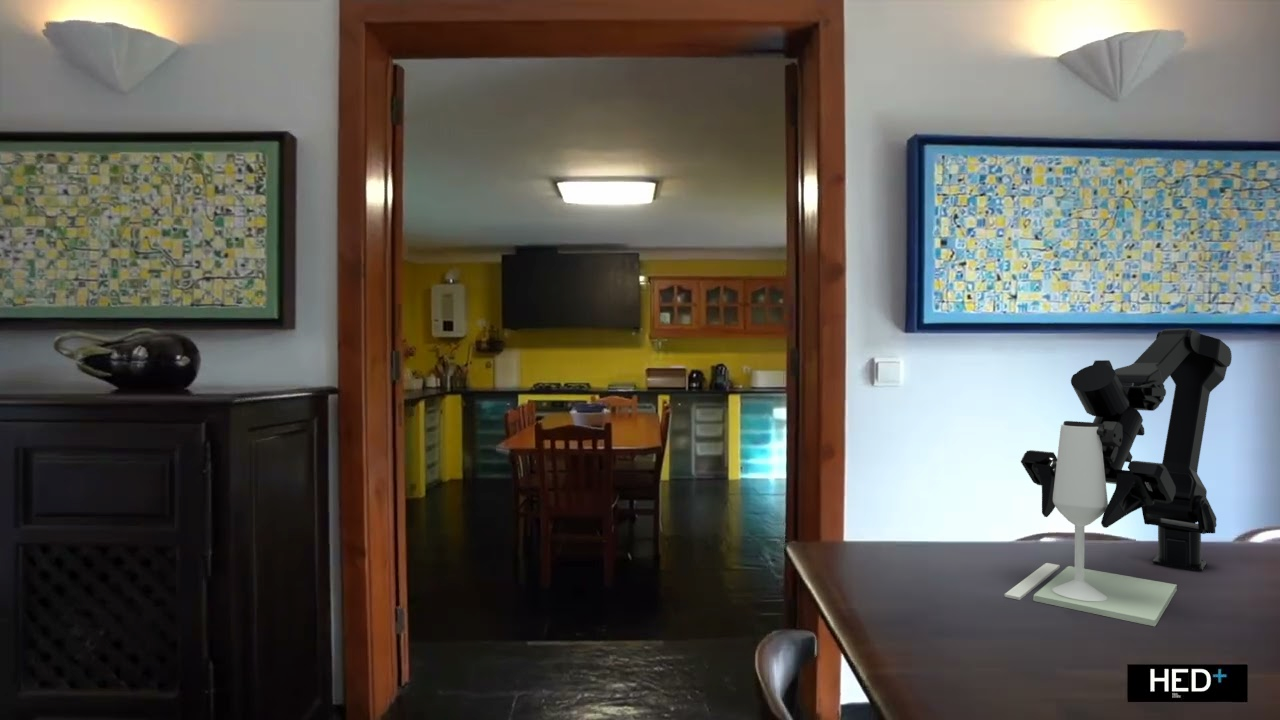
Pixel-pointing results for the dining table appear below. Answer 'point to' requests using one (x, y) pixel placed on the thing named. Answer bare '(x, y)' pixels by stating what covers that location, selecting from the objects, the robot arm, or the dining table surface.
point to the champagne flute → (1080, 497)
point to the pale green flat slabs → (1123, 593)
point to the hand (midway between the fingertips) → (1072, 520)
